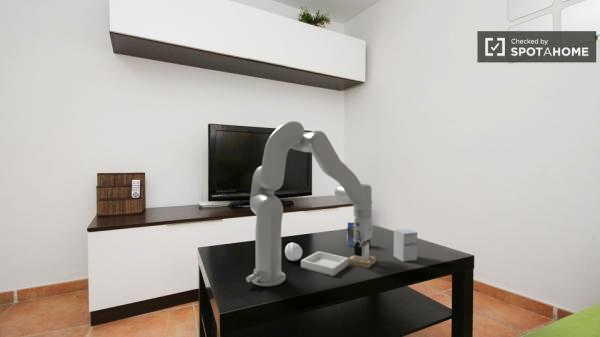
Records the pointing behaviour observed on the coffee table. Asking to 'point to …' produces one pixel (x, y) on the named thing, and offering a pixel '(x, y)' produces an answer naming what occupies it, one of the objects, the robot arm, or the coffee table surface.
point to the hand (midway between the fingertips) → (362, 252)
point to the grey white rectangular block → (364, 252)
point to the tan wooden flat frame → (362, 263)
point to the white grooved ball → (293, 251)
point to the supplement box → (405, 244)
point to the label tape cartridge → (350, 234)
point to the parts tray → (325, 263)
